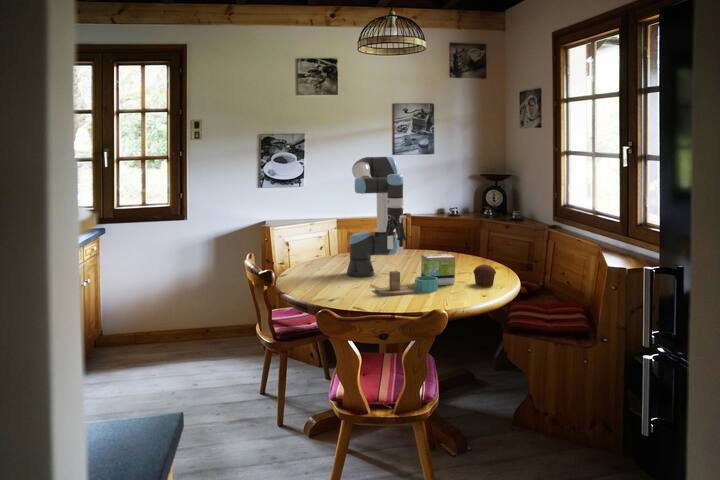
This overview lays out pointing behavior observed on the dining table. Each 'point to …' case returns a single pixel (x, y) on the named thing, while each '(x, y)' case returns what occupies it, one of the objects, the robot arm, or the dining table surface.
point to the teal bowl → (426, 284)
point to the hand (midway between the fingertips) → (395, 251)
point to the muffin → (484, 275)
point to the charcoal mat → (389, 296)
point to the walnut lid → (394, 286)
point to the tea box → (439, 268)
